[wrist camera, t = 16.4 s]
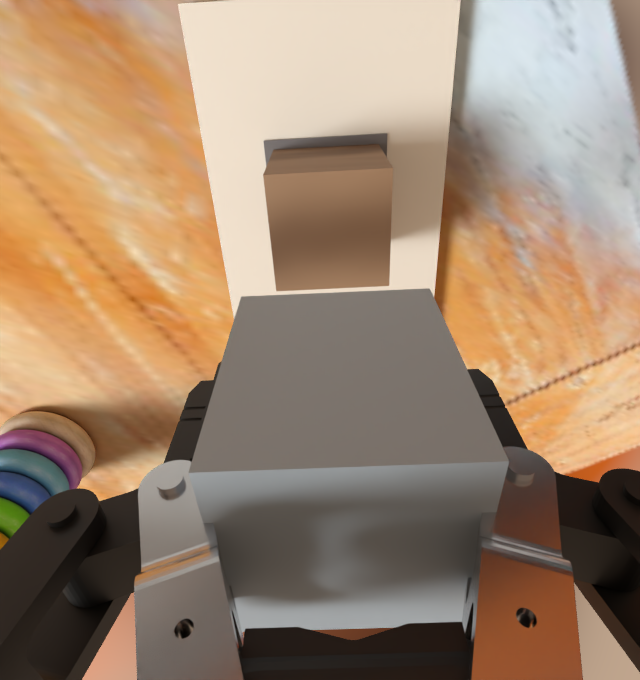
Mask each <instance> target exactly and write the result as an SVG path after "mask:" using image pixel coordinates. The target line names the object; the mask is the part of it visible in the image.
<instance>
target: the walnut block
mask: <svg viewBox="0 0 640 680" xmlns="http://www.w3.org/2000/svg"><path fill="white" fill-rule="evenodd" d="M263 178H264V187H265V196H266V205H267V214H268V223H269V231H270V240H271V249H272V258H273V267H274V276H275V284H276V291H294V290H315V289H336V288H357V287H378V286H389V278H390V248H391V218H392V188H393V167H392V165H391V164H390V162H389V160H388V159H387V157H386V155H385V154H384V152H383V150H382V149H381V147H380V145H379V144H369V145H351V146H332V147H314V148H296V149H278V150H273V152H272V154H271V157H270V159H269V162H268V164H267V167H266V169H265V172H264V174H263Z"/></svg>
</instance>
